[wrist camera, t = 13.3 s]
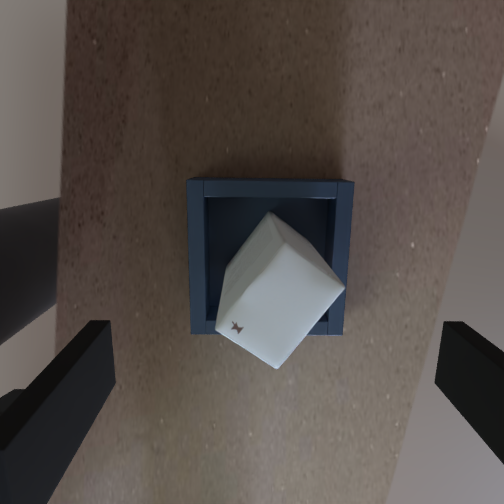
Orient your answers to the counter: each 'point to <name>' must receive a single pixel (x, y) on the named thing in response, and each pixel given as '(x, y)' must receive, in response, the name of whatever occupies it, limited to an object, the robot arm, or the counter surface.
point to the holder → (246, 220)
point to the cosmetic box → (274, 291)
